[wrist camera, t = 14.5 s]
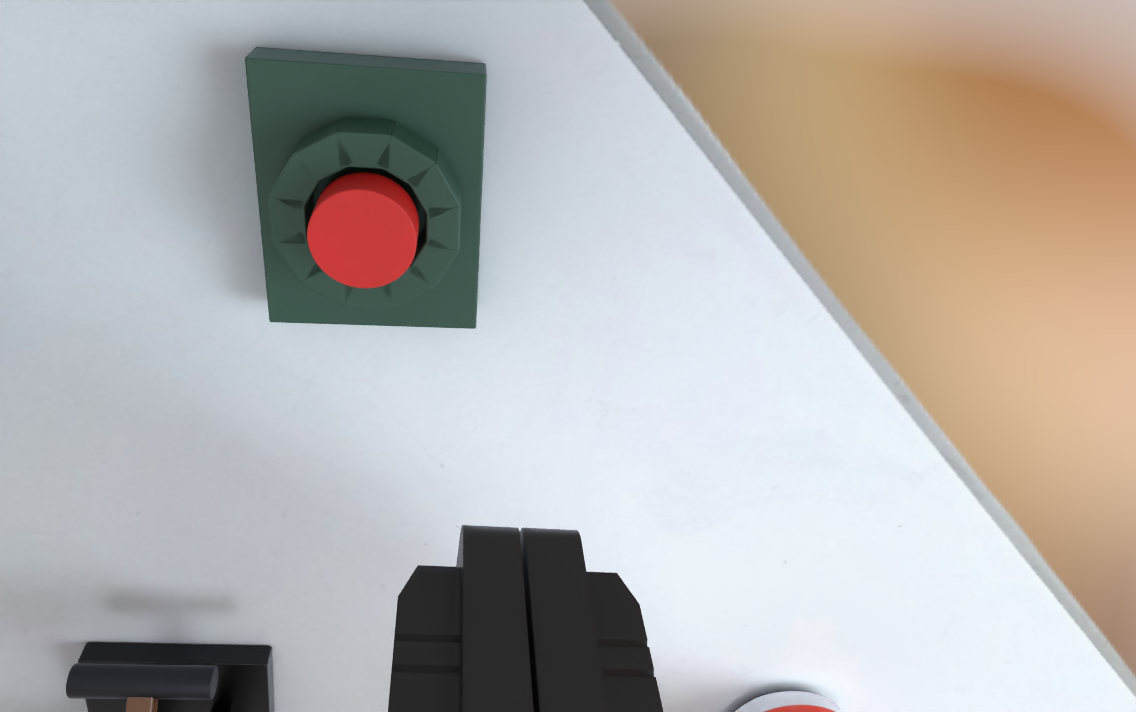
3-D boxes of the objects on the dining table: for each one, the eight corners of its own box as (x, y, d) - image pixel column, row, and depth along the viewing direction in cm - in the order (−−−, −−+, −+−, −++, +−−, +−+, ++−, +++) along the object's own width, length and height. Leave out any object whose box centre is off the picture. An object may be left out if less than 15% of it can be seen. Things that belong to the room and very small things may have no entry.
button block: (255, 46, 30) (231, 70, 27) (485, 63, 31) (487, 87, 28) (277, 302, 35) (259, 345, 32) (475, 309, 36) (476, 352, 33)
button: (311, 168, 30) (303, 186, 28) (419, 174, 30) (416, 192, 29) (317, 265, 31) (310, 286, 30) (418, 269, 32) (416, 290, 30)
